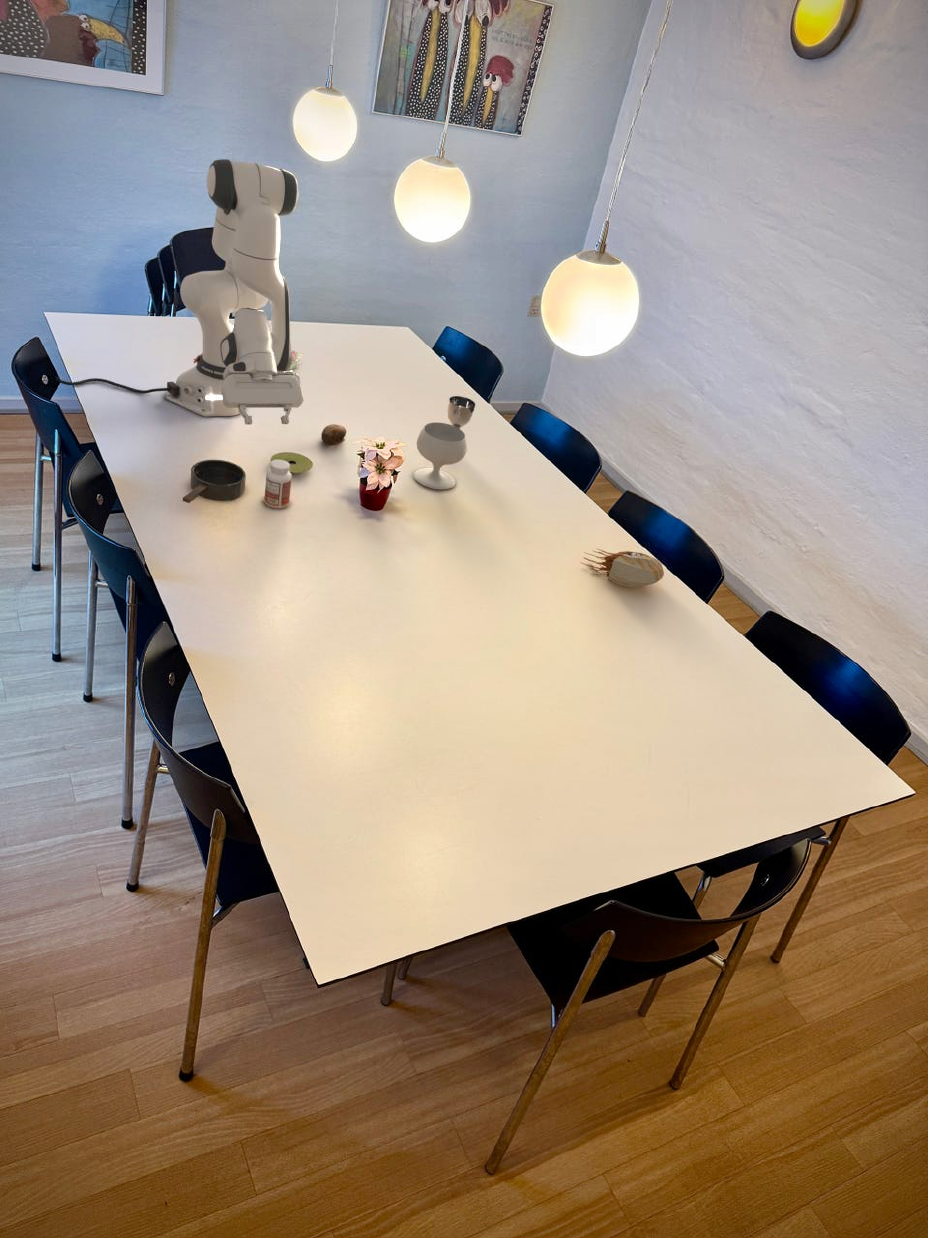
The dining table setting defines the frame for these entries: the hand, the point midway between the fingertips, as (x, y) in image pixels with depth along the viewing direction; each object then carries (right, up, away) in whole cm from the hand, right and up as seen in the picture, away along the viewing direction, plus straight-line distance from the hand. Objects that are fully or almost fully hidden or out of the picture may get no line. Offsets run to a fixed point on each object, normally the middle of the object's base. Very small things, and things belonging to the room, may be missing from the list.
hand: (267, 423), depth 222 cm
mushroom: (+11, +1, +34) cm, 36 cm away
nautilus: (+90, -38, +8) cm, 98 cm away
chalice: (+41, -10, +29) cm, 51 cm away
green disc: (+3, -8, +17) cm, 19 cm away
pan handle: (-15, -19, -10) cm, 26 cm away
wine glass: (+46, +3, +49) cm, 67 cm away
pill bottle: (+2, -20, +1) cm, 20 cm away
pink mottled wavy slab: (-15, +33, +67) cm, 76 cm away
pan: (-13, -16, +1) cm, 21 cm away
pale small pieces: (+23, -15, +15) cm, 32 cm away
